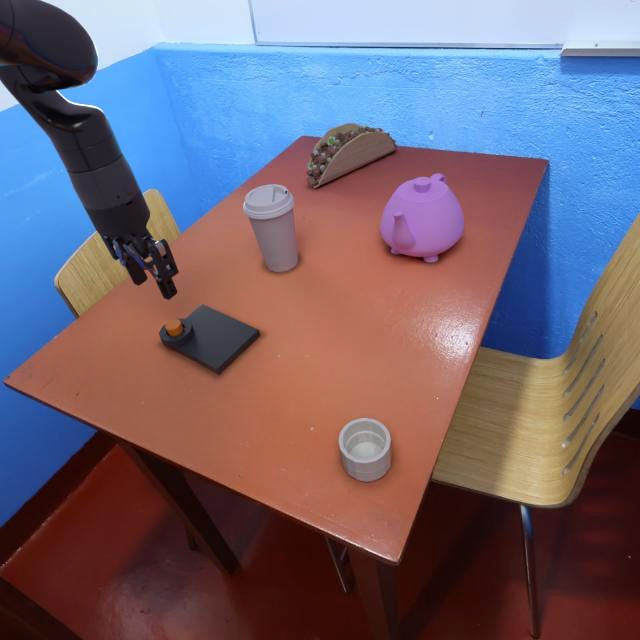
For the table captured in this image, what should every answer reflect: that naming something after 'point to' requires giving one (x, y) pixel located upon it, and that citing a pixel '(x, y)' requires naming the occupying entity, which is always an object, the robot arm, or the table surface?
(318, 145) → the taco
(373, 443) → the white round cup
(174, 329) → the button
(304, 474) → the table surface
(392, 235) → the teapot
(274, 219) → the coffee cup
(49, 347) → the table surface
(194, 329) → the dark grey flat slab
